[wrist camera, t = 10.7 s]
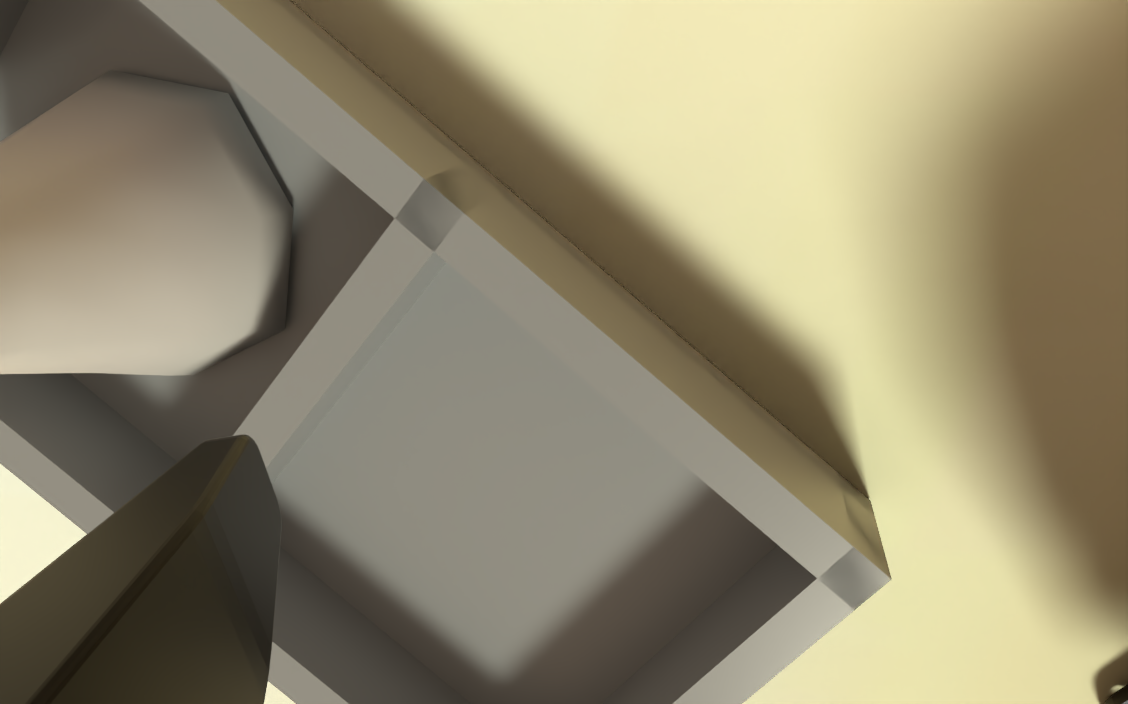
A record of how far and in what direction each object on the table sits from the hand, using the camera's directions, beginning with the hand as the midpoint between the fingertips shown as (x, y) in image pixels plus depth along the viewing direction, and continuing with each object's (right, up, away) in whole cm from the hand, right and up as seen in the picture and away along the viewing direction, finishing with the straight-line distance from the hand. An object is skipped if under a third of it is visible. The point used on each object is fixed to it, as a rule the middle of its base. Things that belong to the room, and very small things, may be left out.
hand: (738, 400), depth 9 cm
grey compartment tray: (-7, 0, +14) cm, 16 cm away
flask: (-11, +3, +14) cm, 18 cm away
